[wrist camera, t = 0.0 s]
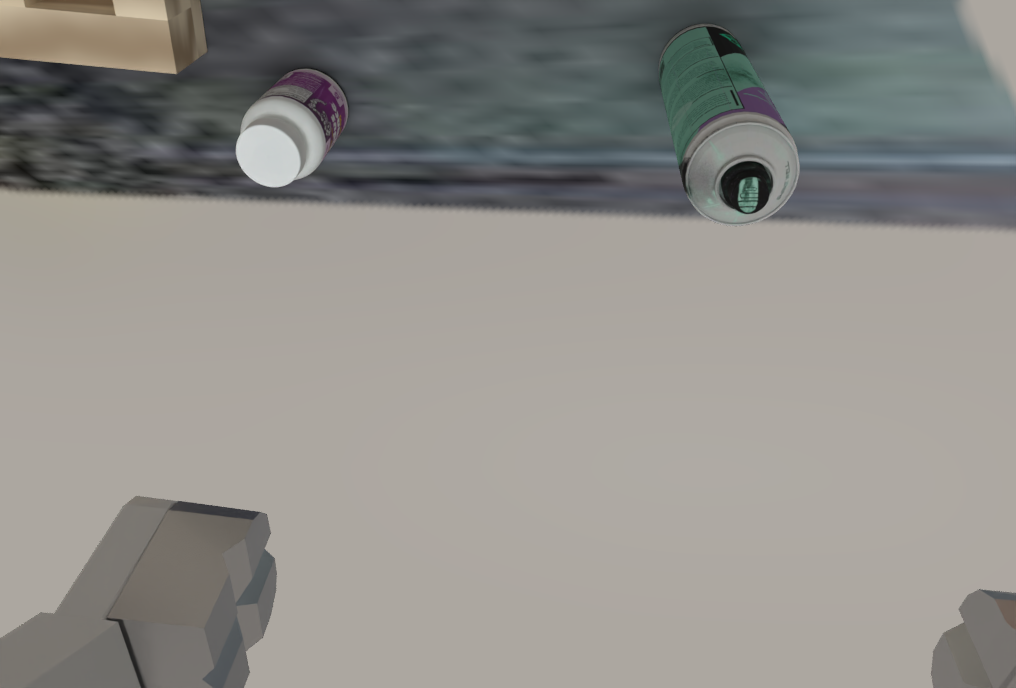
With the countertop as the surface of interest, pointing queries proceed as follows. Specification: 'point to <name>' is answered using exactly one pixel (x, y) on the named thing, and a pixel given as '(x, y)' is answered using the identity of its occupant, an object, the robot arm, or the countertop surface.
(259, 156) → the pill bottle
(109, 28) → the socket block
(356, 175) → the countertop surface
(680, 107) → the spray can
